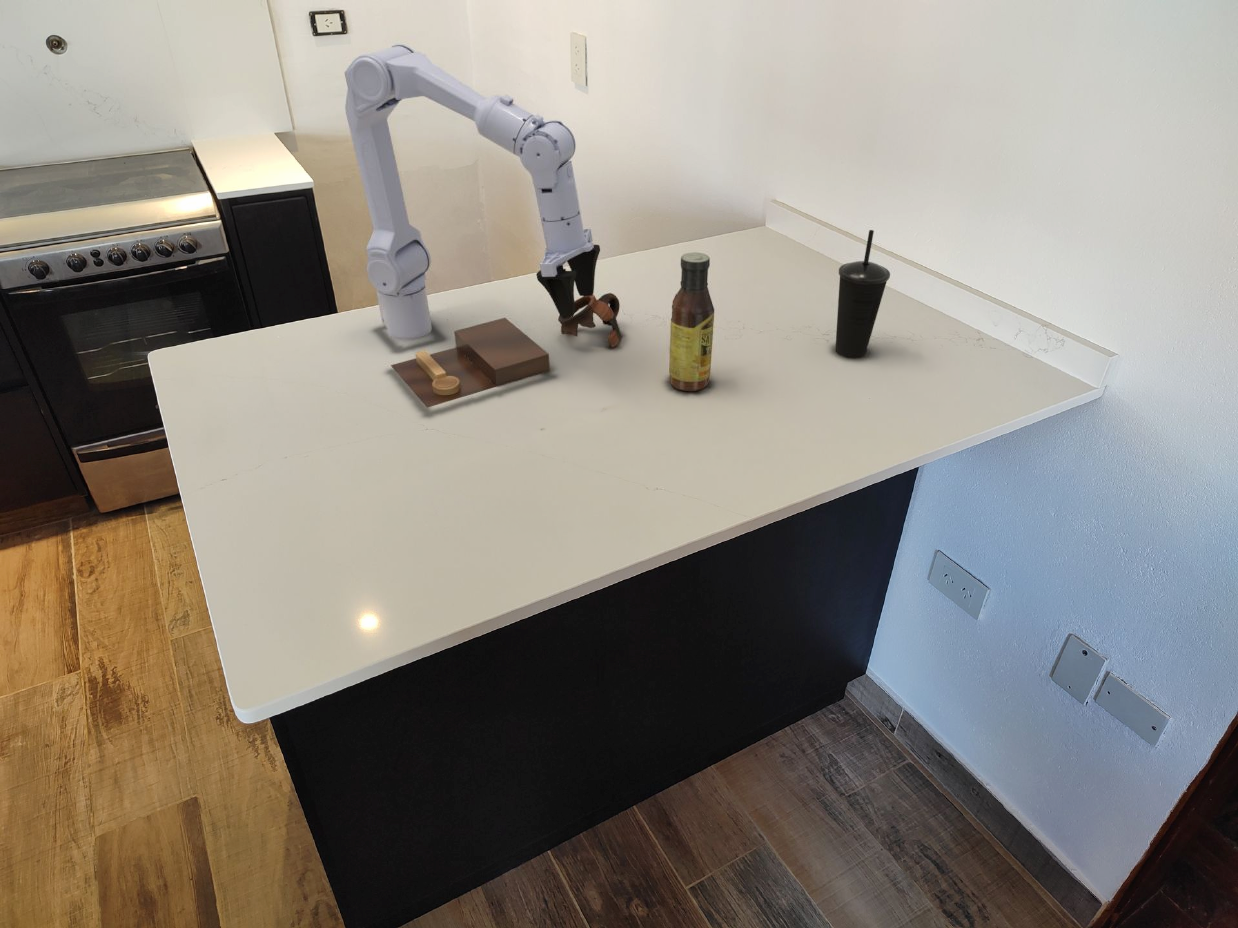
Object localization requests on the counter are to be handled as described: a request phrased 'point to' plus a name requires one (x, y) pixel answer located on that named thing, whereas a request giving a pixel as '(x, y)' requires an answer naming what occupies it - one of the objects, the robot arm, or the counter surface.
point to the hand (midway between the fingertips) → (577, 305)
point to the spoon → (437, 375)
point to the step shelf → (479, 361)
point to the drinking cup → (858, 303)
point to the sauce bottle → (692, 326)
